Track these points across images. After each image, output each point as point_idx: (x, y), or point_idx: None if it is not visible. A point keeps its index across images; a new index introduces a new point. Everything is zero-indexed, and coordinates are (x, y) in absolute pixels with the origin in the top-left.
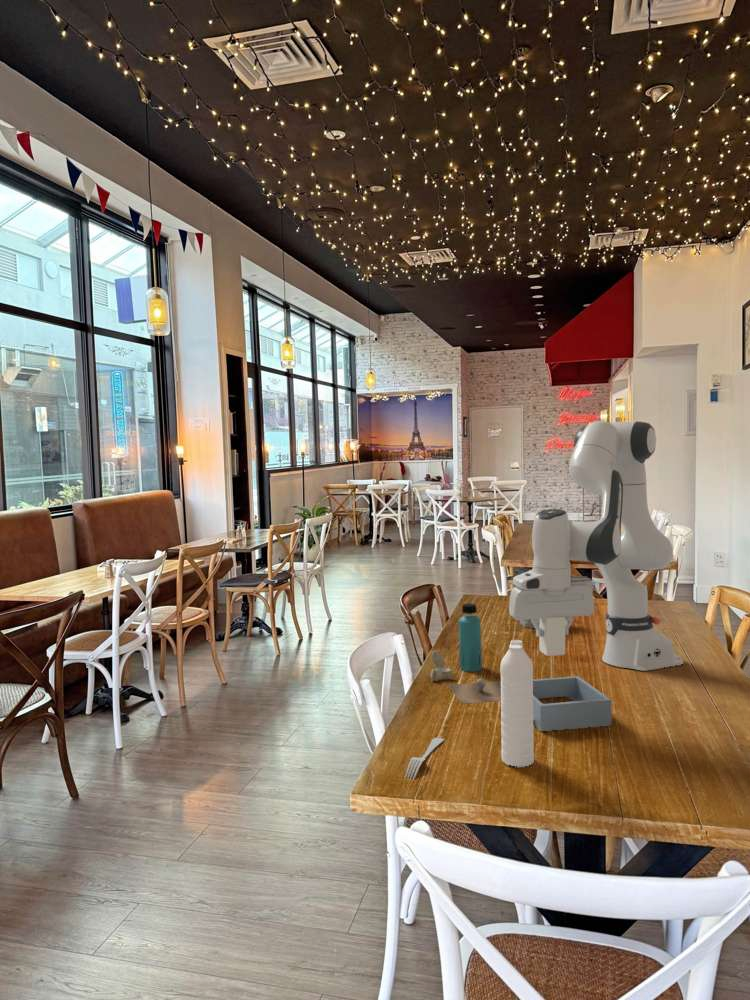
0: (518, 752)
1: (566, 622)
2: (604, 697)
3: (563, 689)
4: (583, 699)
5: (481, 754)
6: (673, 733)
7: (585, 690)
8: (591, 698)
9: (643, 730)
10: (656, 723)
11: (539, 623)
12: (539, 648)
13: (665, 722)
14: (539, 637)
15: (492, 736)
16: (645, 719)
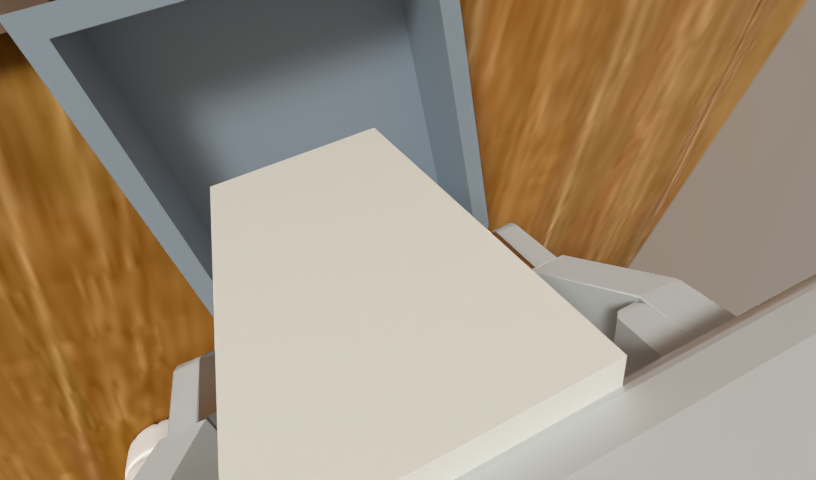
0: None
1: (592, 318)
2: (475, 208)
3: None
4: (411, 25)
5: (57, 453)
6: (568, 207)
7: (435, 53)
8: (438, 107)
9: (514, 204)
10: (563, 151)
11: (219, 382)
12: (211, 198)
13: (586, 140)
14: (214, 254)
15: (52, 351)
16: (551, 125)
